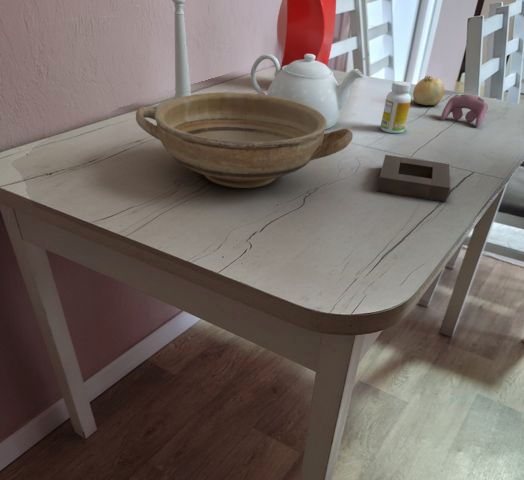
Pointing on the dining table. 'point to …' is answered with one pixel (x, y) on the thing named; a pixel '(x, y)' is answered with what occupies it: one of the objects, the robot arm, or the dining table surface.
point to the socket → (415, 178)
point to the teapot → (309, 85)
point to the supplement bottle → (396, 108)
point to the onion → (428, 91)
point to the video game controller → (468, 102)
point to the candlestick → (180, 55)
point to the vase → (305, 29)
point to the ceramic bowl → (241, 136)
